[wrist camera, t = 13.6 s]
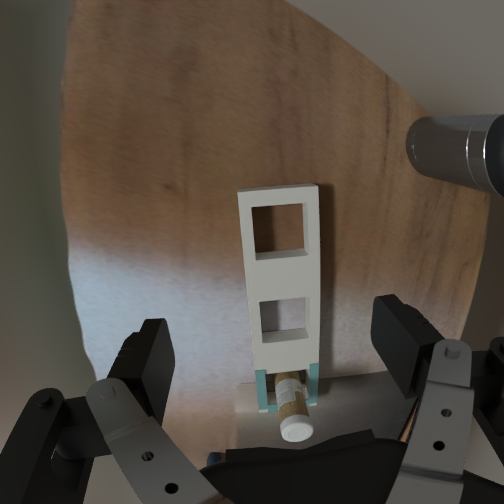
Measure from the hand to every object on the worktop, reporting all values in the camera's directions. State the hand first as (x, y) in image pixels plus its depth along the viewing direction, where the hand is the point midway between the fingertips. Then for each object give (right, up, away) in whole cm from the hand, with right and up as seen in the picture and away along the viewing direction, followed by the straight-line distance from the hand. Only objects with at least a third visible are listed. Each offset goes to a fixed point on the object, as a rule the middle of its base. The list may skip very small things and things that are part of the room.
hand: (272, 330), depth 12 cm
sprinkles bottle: (+5, -18, +41) cm, 45 cm away
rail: (+4, -6, +36) cm, 37 cm away
